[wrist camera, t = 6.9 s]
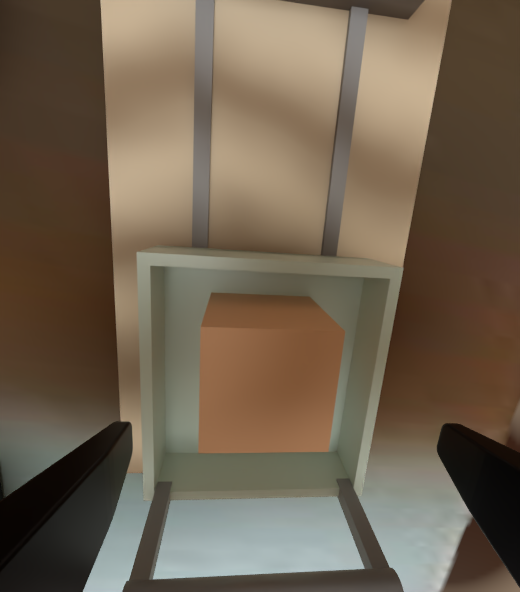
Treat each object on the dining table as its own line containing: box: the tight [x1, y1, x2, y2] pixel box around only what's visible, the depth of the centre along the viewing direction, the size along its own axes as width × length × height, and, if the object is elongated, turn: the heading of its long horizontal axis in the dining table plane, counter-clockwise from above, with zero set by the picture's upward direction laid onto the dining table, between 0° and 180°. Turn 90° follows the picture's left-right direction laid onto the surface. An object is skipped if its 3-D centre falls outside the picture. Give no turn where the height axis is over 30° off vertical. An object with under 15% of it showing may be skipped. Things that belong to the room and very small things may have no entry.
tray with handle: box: [123, 245, 404, 592], centre depth 13 cm, size 12×11×9 cm
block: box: [198, 292, 345, 453], centre depth 13 cm, size 5×5×5 cm
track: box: [101, 0, 452, 473], centre depth 15 cm, size 27×16×4 cm, turn 176°
